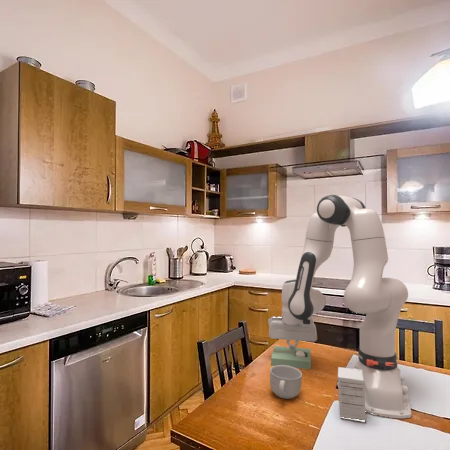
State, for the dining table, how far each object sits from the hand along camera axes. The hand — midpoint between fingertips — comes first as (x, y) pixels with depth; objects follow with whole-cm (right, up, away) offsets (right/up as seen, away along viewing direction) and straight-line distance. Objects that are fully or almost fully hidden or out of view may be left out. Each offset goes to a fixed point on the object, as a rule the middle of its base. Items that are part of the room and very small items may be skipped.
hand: (292, 349), depth 138 cm
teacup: (-9, -5, -29) cm, 30 cm away
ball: (+3, -2, -1) cm, 4 cm away
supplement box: (+10, -4, -40) cm, 41 cm away
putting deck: (0, -5, 0) cm, 5 cm away
